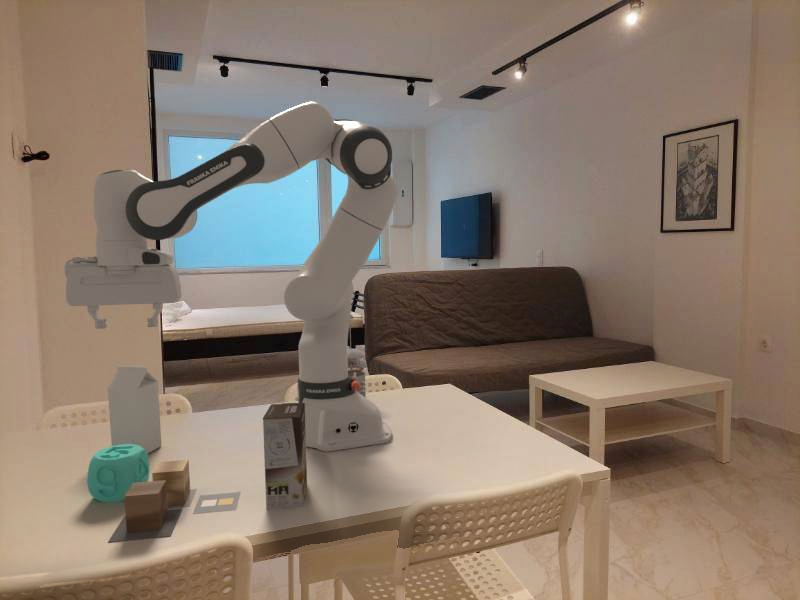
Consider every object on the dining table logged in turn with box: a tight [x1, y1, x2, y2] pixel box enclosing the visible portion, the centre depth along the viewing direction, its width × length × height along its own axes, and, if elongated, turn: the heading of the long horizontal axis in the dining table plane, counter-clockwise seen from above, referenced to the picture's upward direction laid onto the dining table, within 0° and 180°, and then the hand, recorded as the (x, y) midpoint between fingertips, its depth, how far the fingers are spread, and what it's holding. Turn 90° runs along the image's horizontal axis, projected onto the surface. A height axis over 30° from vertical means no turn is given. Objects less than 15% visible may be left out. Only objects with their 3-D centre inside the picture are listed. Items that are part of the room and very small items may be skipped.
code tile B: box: [167, 488, 198, 509], centre depth 100 cm, size 7×7×1 cm
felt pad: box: [107, 508, 183, 544], centre depth 91 cm, size 9×9×1 cm
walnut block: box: [124, 480, 169, 533], centre depth 90 cm, size 5×5×6 cm
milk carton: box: [107, 365, 162, 455], centre depth 123 cm, size 7×7×19 cm
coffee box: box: [262, 402, 308, 510], centre depth 99 cm, size 9×6×16 cm
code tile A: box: [192, 491, 241, 515], centre depth 98 cm, size 7×7×1 cm
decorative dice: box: [86, 444, 150, 503], centre depth 103 cm, size 8×8×8 cm
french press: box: [347, 314, 367, 398], centre depth 160 cm, size 10×12×25 cm
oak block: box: [151, 459, 191, 506], centre depth 99 cm, size 5×5×6 cm
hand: (127, 327), depth 110 cm, fingers open, 8 cm apart
